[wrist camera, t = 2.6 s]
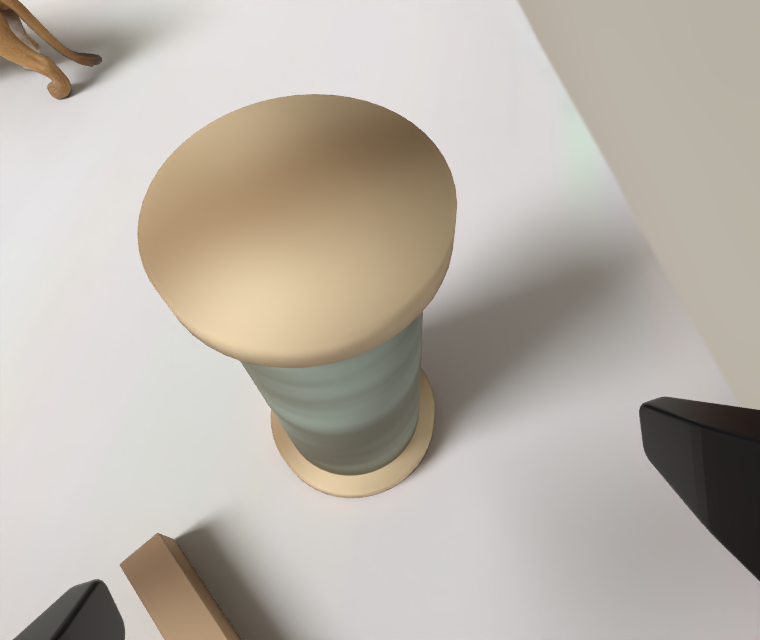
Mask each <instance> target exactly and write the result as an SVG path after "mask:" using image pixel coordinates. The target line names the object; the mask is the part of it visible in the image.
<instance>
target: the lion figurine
mask: <svg viewBox="0 0 760 640" xmlns="http://www.w3.org/2000/svg"><path fill="white" fill-rule="evenodd" d="M19 17H20V18H21V19H22V20H23V21H24V22H25V23H26V24H27V25H28V26H29V27H30V28H31V29H32V30H33V31H35V32H36V33H37V34H38V35H39V36H40V37H41V38H42V39H44V40H45V41H46V42H47V43H48V44H49V45H50V46H52V47H53V48H54V49H55V50H57V51H58V52H59V53H61V54H62V55H63V56H65V57H67V58H69V59H71V60H73V61H75V62H77V63H80V64H82V65H87V66H91V67H92V66H94V65H97V64H100V63H101V62H102V58H101V57H100V56H99V55H95V54H86V53H77V52H73V51H71V50H69V49H68V48H66V47H65V46H63V45H62V44H61V43H60V42H59V41H58V40H57V39H56V38H55V37H54V36H53V35H52V34H50V33H49V31H48V30H47V29H46V28H45V27H44V26H43V25H42V24H41V23H40V22H39V21H38V20H37V19H36V18H35V17H34V16H33V15H32V14H31V12H30V11H29V10H28V9H27V8H26V7H25V6H24V5H23V4H22V3H21V2H19V1H18V0H0V56H1V57H3V58H5V59H7V60H9V61H11V62H14V63H16V64H18V65H21V66H22V67H23V68H24V69H28V70H34V71H36V72H38V73H41V74H43V75H44V76H46V77H48V78H50V79H51V80H52V82H51V83H49V84H48V86H47V89H48V91H49V92H50V94H51V95H52V96H53V97H55V98H57V99H61V98H64V97H67V96H68V95H69V93H70V90H71V85H70V81H69V79H68V78H67V76H66V75H65V74H64V73H63V72H62V71H61V70H60V69H59V68H58V67H57V66H56V64H55V63H54V62H53V61H52V60H51V59H50V58H48V57H47V56H44V55H42V54H41V50H40V47H39V45H38V44H37V43H36V42H35V41H34V40H32V39H31V38H30V37H29V36H28V34H27V33H26V31H25V29H24V28H23V25H22V23H21V20H20V18H19Z"/></svg>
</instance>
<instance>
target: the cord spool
mask: <svg viewBox="0 0 760 640" xmlns="http://www.w3.org/2000/svg"><path fill="white" fill-rule="evenodd" d="M456 210H457V199H456V189H455V184H454V181H453V177H452V174H451V171H450V169H449V167H448V165H447V162H446V160H445V158H444V157H443V155H442V154H441V152H440V151H439V149H438V148H437V146H436V145H435V144H434V143H433V142H432V140H431V139H430V138H429V137H428V136H427V135H426V134H425V133H424V132H423V131H422V130H420V129H419V128H418V127H417V126H415V125H414V124H413V123H412V122H410V121H408V120H407V119H405V118H404V117H402V116H401V115H399V114H397V113H395V112H393V111H391V110H389V109H386V108H384V107H382V106H379V105H376V104H373V103H370V102H367V101H363V100H359V99H355V98H351V97H344V96H336V95H320V94H310V95H294V96H287V97H280V98H275V99H270V100H266V101H262V102H258V103H255V104H252V105H249V106H246V107H243V108H240V109H238V110H236V111H233V112H231V113H229V114H226V115H224V116H222V117H220V118H219V119H217V120H215V121H213V122H211V123H209V124H208V125H206V126H205V127H203V128H202V129H200V130H199V131H197V132H196V133H194V134H193V135H192V136H191V137H190V138H188V139H187V140H186V141H185V142H184V143H182V144H181V145H180V146H179V147H178V148H177V149H176V150H175V151H174V152H173V153H172V154H171V155H170V156H169V157H168V159H167V160H166V161H165V163H164V164H163V165H162V167H161V168H160V169H159V170H158V172H157V174H156V175H155V177H154V179H153V180H152V182H151V184H150V186H149V188H148V190H147V193H146V195H145V197H144V200H143V203H142V207H141V211H140V215H139V222H138V245H139V252H140V256H141V260H142V264H143V267H144V269H145V271H146V273H147V275H148V278H149V280H150V282H151V283H152V285H153V286H154V287H155V289H156V290H157V292H158V293H159V295H160V296H161V297H162V299H163V300H164V301H165V303H166V304H167V305H168V307H169V308H170V309H171V311H172V312H173V313H174V315H175V316H176V317H177V319H178V320H179V321H180V322H181V323H182V324H183V326H184V327H185V328H186V329H187V330H188V331H189V332H190V333H191V334H192V335H194V336H195V337H196V338H198V339H199V340H200V341H202V342H203V343H204V344H206V345H207V346H209V347H211V348H212V349H214V350H216V351H218V352H220V353H222V354H224V355H226V356H229V357H232V358H234V359H237V360H240V361H241V363H242V364H243V366H244V367H245V369H246V371H247V372H248V374H249V375H250V377H251V378H252V380H253V381H254V383H255V385H256V386H257V388H258V389H259V391H260V392H261V394H262V396H263V397H264V399H265V400H266V402H267V403H268V405H269V406H270V408H271V428H272V433H273V437H274V440H275V443H276V446H277V448H278V450H279V452H280V454H281V456H282V457H283V459H284V460H285V461H286V463H287V464H288V465H289V467H290V468H291V469H292V471H293V472H294V473H295V474H296V475H297V476H298V477H299V478H300V479H301V480H302V481H304V482H305V483H306V484H308V485H309V486H311V487H313V488H314V489H316V490H318V491H320V492H323V493H325V494H328V495H332V496H336V497H343V498H361V497H368V496H372V495H376V494H379V493H382V492H384V491H386V490H388V489H391V488H392V487H394V486H396V485H397V484H399V483H400V482H402V481H403V480H404V479H405V478H407V477H408V476H409V475H410V474H411V473H412V472H413V471H414V470H415V468H416V467H417V466H418V465H419V463H420V462H421V460H422V459H423V457H424V455H425V453H426V451H427V449H428V447H429V444H430V441H431V437H432V433H433V426H434V415H435V406H434V398H433V393H432V389H431V386H430V383H429V381H428V379H427V377H426V375H425V373H424V371H423V370H422V369H421V345H422V317H423V310H424V309H425V308H426V307H427V305H428V304H429V303H430V302H431V300H432V299H433V298H434V296H435V294H436V293H437V291H438V289H439V288H440V286H441V284H442V282H443V280H444V277H445V275H446V272H447V270H448V268H449V264H450V259H451V255H452V251H453V242H454V233H455V223H456Z"/></svg>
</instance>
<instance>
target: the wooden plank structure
mask: <svg viewBox="0 0 760 640" xmlns="http://www.w3.org/2000/svg"><path fill="white" fill-rule="evenodd" d="M120 566H121V568H122V570H123V571H124V573H125V575H126V576H127V578H128V580H129V581H130V583H131V585H132V586H133V588H134V590H135V591H136V593H137V595H138V596H139V598H140V600H141V601H142V603H143V605H144V606H145V608H146V610H147V611H148V613H149V615H150V616H151V618H152V620H153V621H154V623H155V624H156V626H157V628H158V629H159V631H160V633H161V634H162V636H163V638H164V639H165V640H240V638H239V637H238V635H237V634H236V632H235V631H234V629H233V628H232V626H231V624H230V623H229V621H228V620H227V618H226V617H225V615H224V614H223V612H222V611H221V609H220V608H219V606H218V605H217V603H216V602H215V600H214V599H213V597H212V596H211V594H210V593H209V591H208V590H207V588H206V587H205V585H204V584H203V582H202V581H201V579H200V578H199V576H198V575H197V573H196V572H195V570H194V569H193V567H192V566H191V564H190V563H189V561H188V560H187V558H186V557H185V555H184V554H183V552H182V551H181V549H180V548H179V546H178V545H177V543H176V542H175V540H174V539H172V538H170V537H167V536H164V535H162V534H159V533H157V534H156V535H154V536H153V537H152V538H151V539H150V540H148V541H147V542H146V543H145V544H144V545H142V546H141V547H140V548H139V549H138V550H136V551H135V552H134V553H133V554H132V555H130V556H129V557H128V558H127V559H126V560H124V561H123V562H122V563H121V564H120Z"/></svg>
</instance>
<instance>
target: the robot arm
mask: <svg viewBox="0 0 760 640" xmlns="http://www.w3.org/2000/svg"><path fill="white" fill-rule="evenodd" d="M639 416H640V424H641V432H642V441H643V447H644V451H645V453H646V456H647V457H648V459H649V460H650V462H651V463H652V464H653V466H654V467H655V468H656V469H657V470H658V471H659V473H660V474H661V475H662V476H663V477H664V479H665V480H666V481H667V482H668V483H669V485H670V486H671V487H672V488H673V489H674V491H675V492H676V493H677V494H678V495H679V497H680V498H681V499H682V500H683V501H684V503H685V504H686V505H687V506H688V507H689V508H690V510H691V511H692V512H693V513H694V514H695V516H696V517H697V518H698V519H699V520H700V521H701V523H702V524H703V525H704V526H705V527H706V528H707V529H708V530H709V532H710V533H711V534H712V535H713V536H714V537H715V538H716V539H717V540H718V541H719V542H720V543H721V544H722V545H723V546H724V547H725V548H726V549H727V550H728V551H729V552H730V553H731V554H732V555H733V556H734V557H735V558H737V559H738V560H739V561H740V562H741V563H742V564H743V565H744V566H745V567H746V568H747V569H748V570H749V571H750V572H751V573H752V574H753V575H754V576H755V577H756V578H757V579H758V580H759V581H760V410H756V409H749V408H742V407H735V406H728V405H721V404H714V403H707V402H700V401H693V400H686V399H678V398H671V397H660V398H657V399H654V400H651V401H648V402H645V403H643V404H642V405H641V406H640V410H639ZM13 640H125V627H124V622H123V619H122V617H121V615H120V612H119V610H118V608H117V606H116V604H115V602H114V600H113V598H112V596H111V594H110V592H109V590H108V587H107V586H106V584H105V583H104V582H103V581H102V580H99V579H95V580H92V581H89V582H86V583H82V584H79V585H76V586H74V587H72V588H70V589H69V590H68V591H67V592H66V593H64V594H63V595H62V596H61V597H60V598H59V599H58V600H57V601H56V602H54V603H53V604H52V605H51V606H50V607H49V608H48V609H47V610H46V611H44V612H43V613H42V614H41V615H40V616H39V617H38V618H37V619H36V620H34V621H33V622H32V623H31V624H30V625H29V626H28V627H27V628H25V629H24V630H23V631H22V632H21V633H20V634H19V635H18V636H17V637H15V638H14V639H13Z"/></svg>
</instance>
